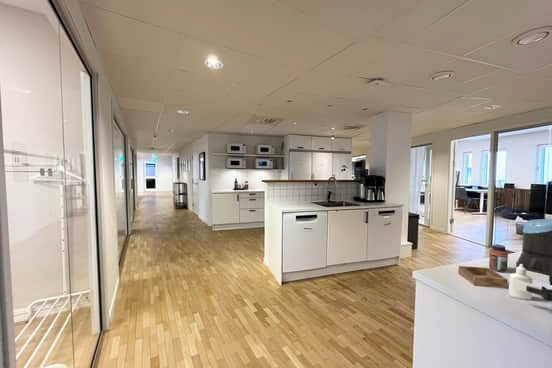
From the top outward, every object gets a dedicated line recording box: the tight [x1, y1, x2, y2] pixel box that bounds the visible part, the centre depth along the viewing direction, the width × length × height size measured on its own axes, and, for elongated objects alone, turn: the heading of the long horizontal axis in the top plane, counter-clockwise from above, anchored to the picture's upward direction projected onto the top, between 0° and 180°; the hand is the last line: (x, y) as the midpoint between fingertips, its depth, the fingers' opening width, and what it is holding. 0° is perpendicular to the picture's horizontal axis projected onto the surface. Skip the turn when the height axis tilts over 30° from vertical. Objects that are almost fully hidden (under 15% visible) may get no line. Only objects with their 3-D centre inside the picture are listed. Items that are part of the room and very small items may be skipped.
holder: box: [457, 265, 509, 289], centre depth 95 cm, size 11×11×4 cm
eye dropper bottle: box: [508, 264, 533, 301], centre depth 82 cm, size 4×6×12 cm
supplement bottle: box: [488, 243, 509, 273], centre depth 105 cm, size 6×6×11 cm
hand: (517, 278), depth 83 cm, fingers open, 13 cm apart
